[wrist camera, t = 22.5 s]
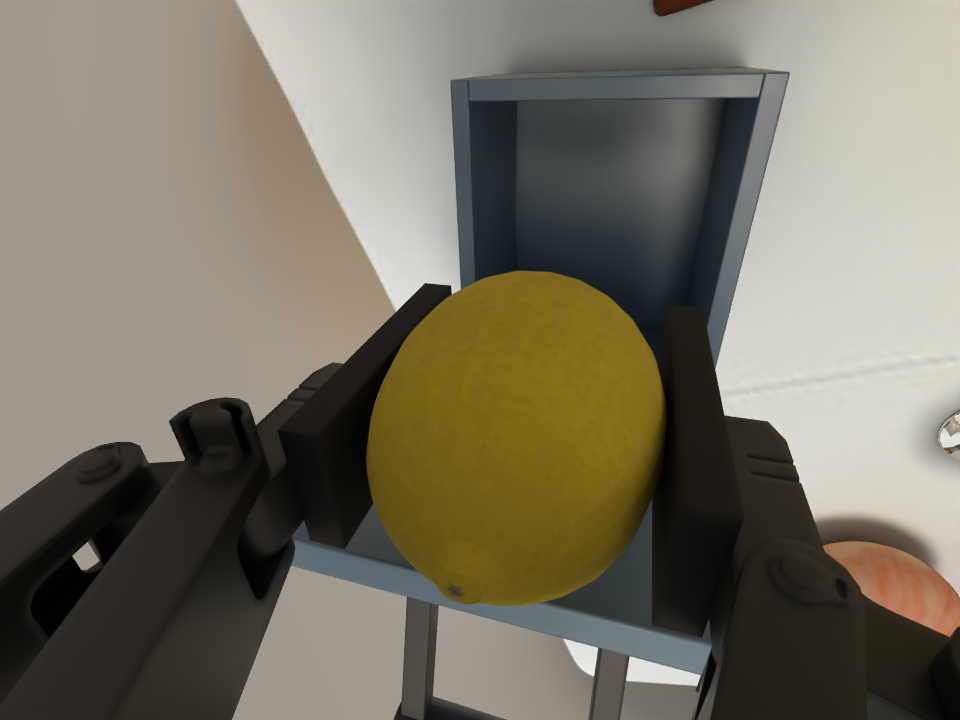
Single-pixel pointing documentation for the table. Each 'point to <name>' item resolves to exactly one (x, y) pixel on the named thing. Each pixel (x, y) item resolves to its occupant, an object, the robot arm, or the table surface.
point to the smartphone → (675, 5)
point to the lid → (516, 617)
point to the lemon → (517, 439)
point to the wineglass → (950, 436)
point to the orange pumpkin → (900, 583)
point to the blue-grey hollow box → (616, 182)
